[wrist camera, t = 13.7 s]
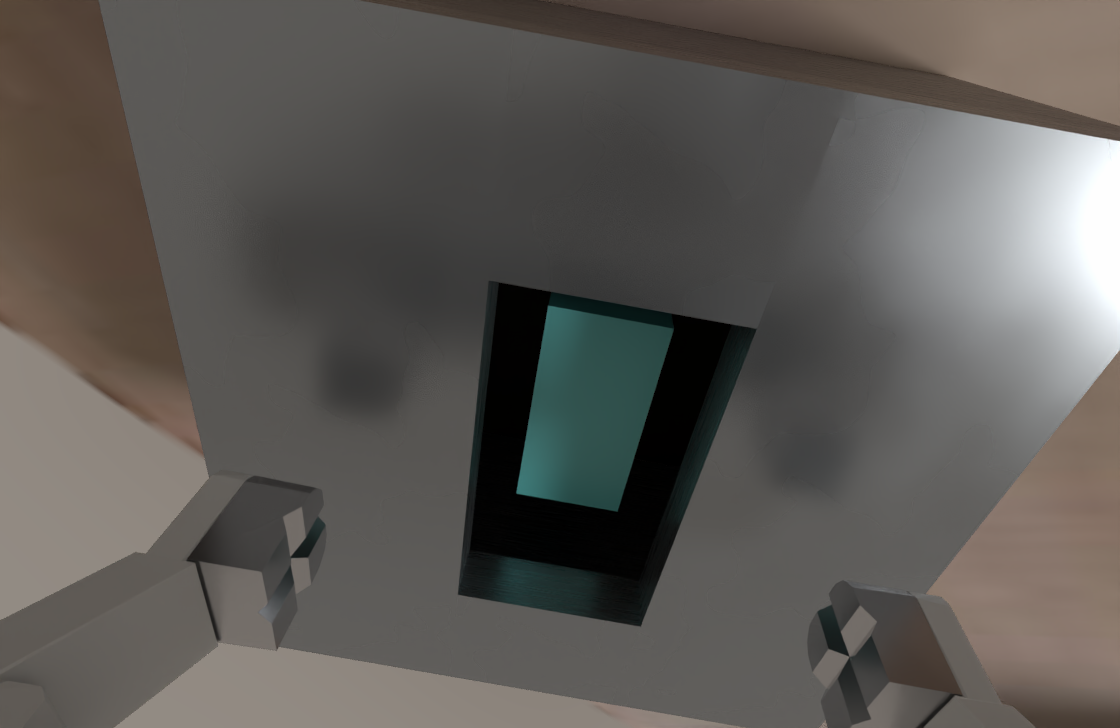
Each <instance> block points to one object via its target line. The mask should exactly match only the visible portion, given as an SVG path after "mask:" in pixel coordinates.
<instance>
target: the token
mask: <svg viewBox="0 0 1120 728" xmlns="http://www.w3.org/2000/svg"><path fill="white" fill-rule="evenodd" d="M673 330H674V326H673V319H672V313H666V312H661V311H655V310H650V309H644V308H639V307H633V306H628V305H622V304H616V303H611V302H605V301H600V300H594V299H589V298H583V297H578V296H572V295H567V294H561V293H556V292H551V296H550V300H549V305H548V310H547V316H546V322H545V328H544V334H543V340H542V346H541V352H540V357H539V363H538V369H537V375H536V381H535V387H534V393H533V399H532V404H531V410H530V416H529V422H528V428H527V434H526V440H525V446H524V451H523V457H522V463H521V469H520V475H519V481H518V487H517V493H516V494H522V495H527V496H533V497H539V498H544V499H550V500H555V501H561V502H567V503H572V504H578V505H583V506H589V507H595V508H600V509H606V510H611V511H618V508H619V505H620V502H621V499H622V495H623V492H624V489H625V486H626V482H627V479H628V476H629V473H630V469H631V466H632V463H633V460H634V456H635V453H636V450H637V447H638V443H639V440H640V437H641V434H642V431H643V427H644V424H645V421H646V418H647V414H648V411H649V408H650V405H651V401H652V398H653V395H654V392H655V388H656V385H657V382H658V379H659V376H660V372H661V369H662V366H663V363H664V359H665V356H666V353H667V350H668V346H669V343H670V340H671V337H672V333H673Z"/></svg>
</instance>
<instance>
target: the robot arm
mask: <svg viewBox="0 0 1120 728" xmlns="http://www.w3.org/2000/svg"><path fill="white" fill-rule="evenodd" d="M323 506H324V500H323V493H322V490H321V489H318V488H315V487H310V486H305V485H300V484H295V483H290V482H285V481H280V480H275V479H270V478H266V477H261V476H256V475H249V474H244V473H239V472H234V471H229V470H223V469H222V470H220V471H218V472H217V473H215V474H213V475H212V476H210V478H209V479H208V480H207V481H206V482H205V484H204V485H203V486H202V487H201V489H200V490H199V491H198V492H197V493H196V494H195V496H194V497H193V498H192V499H191V500H190V502H189V503H188V504H187V505H186V506H185V508H184V509H183V510H182V511H181V512H180V513H179V515H178V516H177V517H176V518H175V520H174V521H173V522H172V523H171V524H170V526H169V527H168V528H167V529H166V530H165V531H164V533H163V534H162V535H161V536H160V537H159V539H158V540H157V541H156V542H155V543H154V544H153V546H152V547H151V548H150V549H149V551H148V552H147V553H146V554H144V553H137V552H135V553H133V554H131V555H129V556H127V557H125V558H123V559H121V560H119V561H117V562H115V563H113V564H111V565H109V566H107V567H105V568H103V569H101V570H99V571H97V572H95V573H93V574H91V575H89V576H87V577H85V578H83V579H81V580H79V581H77V582H75V583H73V584H71V585H69V586H67V587H66V588H63V589H61V590H60V591H58V592H55V593H54V594H51V595H49V596H47V597H45V598H44V599H42V600H40V601H38V602H36V603H34V604H32V605H30V606H28V607H26V608H24V609H22V610H20V611H18V612H16V613H14V614H12V615H10V616H8V617H6V618H4V619H2V620H0V728H114V727H115V726H116V725H117V724H119V723H120V722H122V721H123V720H124V719H125V718H126V717H128V716H129V715H130V714H132V713H133V712H134V711H136V710H137V709H138V708H139V707H141V706H142V705H143V704H144V703H146V702H147V701H148V700H150V699H151V698H152V697H154V696H155V695H156V694H157V693H159V692H160V691H161V690H162V689H164V688H165V687H166V686H168V685H169V684H170V683H171V682H173V681H174V680H175V679H177V678H178V677H179V676H180V675H182V674H183V673H184V672H185V671H187V670H188V669H189V668H191V667H192V666H193V665H194V664H196V663H197V662H198V661H200V660H201V659H202V658H203V657H205V656H206V655H207V654H209V653H210V652H211V651H212V650H214V649H215V648H216V647H217V646H218V643H217V642H219V643H227V644H233V645H240V646H247V647H254V648H261V649H268V650H275V651H277V649H278V647H279V645H280V643H281V641H282V639H283V638H284V636H285V634H286V632H287V630H288V628H289V626H290V624H291V622H292V620H293V618H294V616H295V615H296V613H297V611H298V608H297V600H296V594H297V593H299V592H300V591H302V590H303V589H305V588H306V587H308V586H309V585H311V584H312V582H313V580H314V578H315V575H316V573H317V571H318V569H319V567H320V564H321V561H322V557H323V554H324V551H325V546H326V537H327V533H326V524H325V523H324V522H323V521H322V520H321V519H320V518H319V517H318V515H319V513H320V511H321V510H322V508H323ZM829 597H830V600H831V603H832V605H829V606H827V607H825V608H823V609H821V610H819V611H817V612H816V614H815V616H814V618H813V619H812V621H811V623H810V625H809V631H808V638H807V648H808V657H809V661H810V665H811V669H812V672H813V673H814V675H815V676H816V677H817V678H818V679H819V680H820V682H821V683H822V684H823V685H824V686H825V688H826V690H825V692H824V695H823V697H822V699H821V701H820V702H821V705H822V709H823V712H824V716H825V719H826V723H827V727H828V728H1036V727H1035V726H1034V725H1033V724H1032V723H1031V722H1029V721H1028V720H1027V719H1026V718H1025V717H1024V716H1023V715H1022V714H1021V713H1020V712H1019V711H1018V710H1016V709H1015V708H1014V707H1013V706H1011V705H1006V704H1002V703H1001V701H1000V699H999V697H998V695H997V693H996V691H995V689H994V687H993V686H992V684H991V682H990V680H989V678H988V676H987V674H986V672H985V671H984V669H983V667H982V665H981V663H980V661H979V659H978V657H977V655H976V654H975V652H974V650H973V648H972V646H971V644H970V642H969V640H968V638H967V637H966V635H965V633H964V631H963V629H962V627H961V625H960V623H959V621H958V620H957V618H956V616H955V614H954V612H953V610H952V608H951V606H950V605H949V604H948V603H947V602H946V601H945V600H944V599H943V598H942V597H939V596H933V595H927V594H922V593H916V592H910V591H904V590H901V589H895V588H889V587H883V586H877V585H871V584H865V583H858V582H852V581H846V580H842V581H840V582H838V583H836V584H835V585H834V587H833V588H832V589H831V591H830V592H829Z"/></svg>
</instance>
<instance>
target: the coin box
mask: <svg viewBox="0 0 1120 728" xmlns="http://www.w3.org/2000/svg"><path fill="white" fill-rule="evenodd" d="M98 1H99V5H100V9H101V14H102V18H103V22H104V27H105V31H106V35H107V40H108V44H109V48H110V52H111V57H112V61H113V65H114V70H115V74H116V78H117V83H118V87H119V91H120V96H121V100H122V104H123V108H124V113H125V117H126V121H127V126H128V130H129V134H130V139H131V143H132V147H133V152H134V156H135V160H136V164H137V169H138V173H139V177H140V182H141V186H142V190H143V195H144V199H145V203H146V208H147V212H148V216H149V220H150V225H151V229H152V233H153V238H154V242H155V246H156V251H157V255H158V259H159V264H160V268H161V272H162V277H163V281H164V285H165V289H166V294H167V298H168V302H169V307H170V311H171V315H172V320H173V324H174V328H175V333H176V337H177V341H178V345H179V350H180V354H181V358H182V363H183V367H184V371H185V376H186V380H187V384H188V389H189V393H190V397H191V401H192V406H193V410H194V414H195V419H196V423H197V427H198V432H199V436H200V440H201V445H202V449H203V453H204V457H205V462H206V466H207V470H208V474H209V478H210V476H212V475H213V474H215V473H217V472H218V471H220V470H222V469H223V470H229V471H234V472H239V473H244V474H249V475H256V476H261V477H266V478H270V479H275V480H280V481H285V482H290V483H295V484H300V485H305V486H310V487H315V488H318V489H321V490H322V493H323V500H324V506H323V508H322V510H321V511H320V513H319V515H318V517H319V518H320V519H321V520H322V521H323V522H324V523H325V524H326V533H327V537H326V546H325V551H324V554H323V557H322V561H321V564H320V567H319V569H318V571H317V573H316V575H315V578H314V580H313V582H312V584H311V585H309V586H308V587H306V588H305V589H303V590H302V591H300V592H299V593H297V594H296V600H297V608H298V611H297V613H296V615H295V616H294V618H293V620H292V622H291V624H290V626H289V628H288V630H287V632H286V634H285V636H284V638H283V639H282V641H281V643H280V645H279V647H283V648H289V649H295V650H301V651H306V652H312V653H318V654H324V655H329V656H335V657H341V658H347V659H353V660H358V661H364V662H371V663H376V664H382V665H388V666H393V667H399V668H405V669H410V670H416V671H422V672H429V673H434V674H439V675H446V676H451V677H457V678H463V679H469V680H475V681H480V682H486V683H492V684H497V685H503V686H509V687H515V688H521V689H526V690H533V691H538V692H544V693H549V694H555V695H561V696H567V697H573V698H578V699H584V700H590V701H596V702H601V703H607V704H613V705H619V706H625V707H630V708H636V709H642V710H648V711H654V712H659V713H665V714H671V715H677V716H682V717H688V718H694V719H700V720H706V721H711V722H717V723H723V724H729V725H735V726H740V727H746V728H819V727H820V726H821V724H822V723H823V722H824V721H825V716H824V712H823V709H822V705H821V702H820V701H821V699H822V697H823V695H824V692H825V690H826V688H825V686H824V685H823V684H822V683H821V682H820V680H819V679H818V678H817V677H816V676H815V675H814V673H813V672H812V669H811V665H810V661H809V657H808V648H807V638H808V631H809V625H810V623H811V621H812V619H813V618H814V616H815V614H816V612H817V611H819V610H821V609H823V608H825V607H827V606H829V605H832V603H831V600H830V597H829V592H830V591H831V589H832V588H833V587H834V585H835V584H836V583H838V582H840V581H842V580H846V581H852V582H858V583H865V584H871V585H877V586H883V587H889V588H895V589H901V590H904V591H910V592H916V593H922V594H926V592H927V591H928V590H929V589H930V587H931V586H932V585H933V584H934V582H935V581H936V580H937V579H938V577H939V576H940V575H941V574H942V572H943V571H944V570H945V569H946V567H947V566H948V565H949V564H950V562H951V561H952V560H953V558H954V557H955V556H956V555H957V553H958V552H959V551H960V550H961V548H962V547H963V546H964V545H965V543H966V542H967V541H968V540H969V538H970V537H971V536H972V535H973V533H974V532H975V531H976V530H977V528H978V527H979V526H980V525H981V523H982V522H983V521H984V520H985V518H986V517H987V516H988V515H989V513H990V512H991V511H992V509H993V508H994V507H995V506H996V504H997V503H998V502H999V501H1000V499H1001V498H1002V497H1003V496H1004V494H1005V493H1006V492H1007V491H1008V489H1009V488H1010V487H1011V486H1012V484H1013V483H1014V482H1015V481H1016V479H1017V478H1018V477H1019V476H1020V474H1021V473H1022V472H1023V471H1024V469H1025V468H1026V467H1027V466H1028V464H1029V463H1030V462H1031V461H1032V459H1033V458H1034V457H1035V455H1036V454H1037V453H1038V452H1039V450H1040V449H1041V448H1042V447H1043V445H1044V444H1045V443H1046V442H1047V440H1048V439H1049V438H1050V437H1051V435H1052V434H1053V433H1054V432H1055V430H1056V429H1057V428H1058V427H1059V425H1060V424H1061V423H1062V422H1063V420H1064V419H1065V418H1066V417H1067V415H1068V414H1069V413H1070V412H1071V410H1072V409H1073V408H1074V406H1075V405H1076V404H1077V403H1078V401H1079V400H1080V399H1081V398H1082V396H1083V395H1084V394H1085V393H1086V391H1087V390H1088V389H1089V388H1090V386H1091V385H1092V384H1093V383H1094V381H1095V380H1096V379H1097V378H1098V376H1099V375H1100V374H1101V373H1102V371H1103V370H1104V369H1105V368H1106V366H1107V365H1108V364H1109V363H1110V361H1111V360H1112V359H1113V358H1114V356H1115V355H1116V354H1117V352H1118V351H1119V350H1120V126H1117V125H1114V124H1110V123H1107V122H1103V121H1100V120H1097V119H1093V118H1090V117H1086V116H1083V115H1079V114H1076V113H1073V112H1069V111H1066V110H1062V109H1059V108H1055V107H1052V106H1048V105H1045V104H1042V103H1038V102H1035V101H1031V100H1028V99H1024V98H1021V97H1018V96H1014V95H1011V94H1007V93H1004V92H1000V91H997V90H994V89H990V88H987V87H983V86H980V85H976V84H973V83H969V82H966V81H963V80H959V79H956V78H952V77H948V76H942V75H937V74H932V73H926V72H921V71H916V70H910V69H905V68H900V67H894V66H889V65H883V64H878V63H873V62H867V61H862V60H857V59H851V58H846V57H840V56H835V55H830V54H824V53H819V52H814V51H808V50H803V49H797V48H792V47H787V46H781V45H776V44H771V43H765V42H760V41H755V40H749V39H744V38H738V37H733V36H728V35H722V34H717V33H712V32H706V31H701V30H695V29H690V28H685V27H679V26H674V25H669V24H663V23H658V22H653V21H647V20H642V19H636V18H631V17H626V16H620V15H615V14H610V13H604V12H599V11H593V10H588V9H583V8H577V7H572V6H567V5H561V4H556V3H551V2H545V1H540V0H98ZM499 282H500V283H506V284H511V285H517V286H522V287H528V288H533V289H539V290H545V291H550V292H556V293H561V294H567V295H572V296H578V297H583V298H589V299H594V300H600V301H605V302H611V303H616V304H622V305H628V306H633V307H639V308H644V309H650V310H655V311H661V312H666V313H672V314H677V315H683V316H688V317H694V318H700V319H705V320H711V321H716V322H722V323H727V324H732V325H731V328H730V331H729V333H728V336H727V339H726V342H725V344H724V347H723V350H722V353H721V355H720V358H719V361H718V364H717V367H716V369H715V372H714V375H713V378H712V380H711V383H710V386H709V389H708V391H707V394H706V397H705V400H704V402H703V405H702V408H701V411H700V413H699V416H698V419H697V422H696V425H695V427H694V430H693V433H692V436H691V438H690V441H689V444H688V447H687V449H686V452H685V455H684V458H683V460H682V463H681V466H680V467H679V466H673V465H667V464H662V463H656V462H651V461H645V460H639V459H634V460H633V463H632V466H631V469H630V473H629V476H628V479H627V482H626V486H625V489H624V492H623V495H622V499H621V502H620V505H619V508H618V511H611V510H606V509H600V508H595V507H589V506H583V505H578V504H572V503H567V502H561V501H555V500H550V499H544V498H539V497H533V496H527V495H522V494H516V493H517V487H518V481H519V475H520V469H521V463H522V457H523V451H524V446H525V440H526V439H521V438H515V437H510V436H504V435H499V434H493V433H487V432H483V423H484V414H485V405H486V395H487V386H488V377H489V368H490V359H491V350H492V340H493V331H494V322H495V313H496V304H497V295H498V285H499Z"/></svg>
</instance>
